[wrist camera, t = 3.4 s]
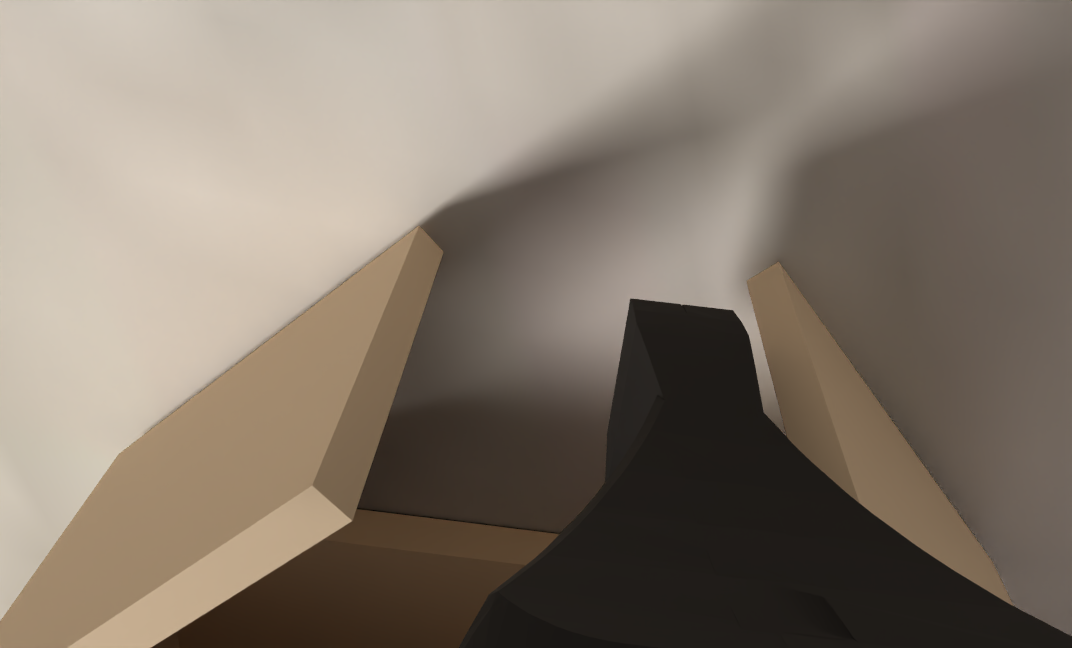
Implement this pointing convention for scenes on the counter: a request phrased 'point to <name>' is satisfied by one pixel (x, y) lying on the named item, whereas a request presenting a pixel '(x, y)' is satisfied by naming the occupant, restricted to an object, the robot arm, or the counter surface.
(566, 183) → the counter surface
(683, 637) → the robot arm
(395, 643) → the cardboard box
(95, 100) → the counter surface
